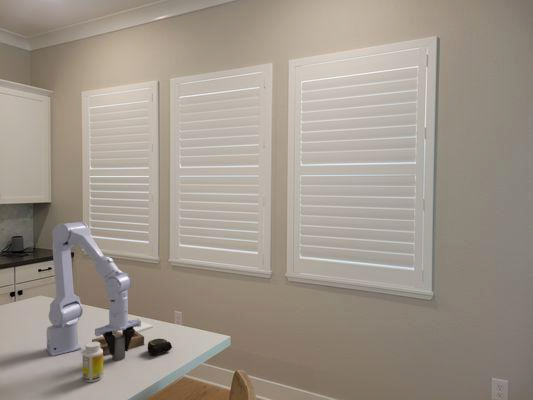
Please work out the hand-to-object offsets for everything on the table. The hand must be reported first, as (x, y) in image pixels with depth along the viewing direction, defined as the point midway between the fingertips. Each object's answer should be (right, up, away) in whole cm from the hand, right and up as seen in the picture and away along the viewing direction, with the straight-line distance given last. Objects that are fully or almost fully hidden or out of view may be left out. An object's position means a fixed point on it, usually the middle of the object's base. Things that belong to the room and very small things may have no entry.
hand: (118, 352), depth 133 cm
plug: (0, -2, 0) cm, 2 cm away
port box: (-4, -2, +10) cm, 10 cm away
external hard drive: (-4, -2, +26) cm, 26 cm away
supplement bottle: (-2, -3, -14) cm, 14 cm away
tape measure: (+12, -2, +5) cm, 13 cm away
